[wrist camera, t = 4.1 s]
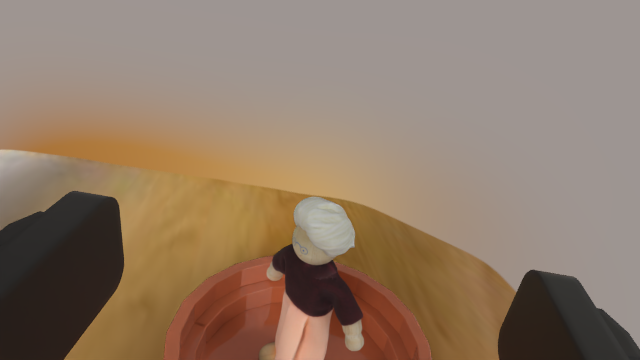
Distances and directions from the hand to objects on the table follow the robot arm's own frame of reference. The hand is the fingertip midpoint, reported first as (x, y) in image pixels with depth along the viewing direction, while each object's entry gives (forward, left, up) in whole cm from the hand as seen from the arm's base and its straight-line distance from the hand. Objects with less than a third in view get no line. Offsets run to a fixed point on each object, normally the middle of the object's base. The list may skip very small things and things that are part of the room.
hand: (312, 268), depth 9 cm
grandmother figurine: (0, +12, -18) cm, 22 cm away
